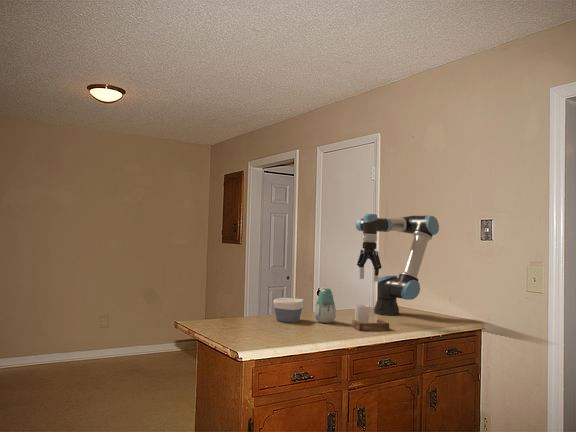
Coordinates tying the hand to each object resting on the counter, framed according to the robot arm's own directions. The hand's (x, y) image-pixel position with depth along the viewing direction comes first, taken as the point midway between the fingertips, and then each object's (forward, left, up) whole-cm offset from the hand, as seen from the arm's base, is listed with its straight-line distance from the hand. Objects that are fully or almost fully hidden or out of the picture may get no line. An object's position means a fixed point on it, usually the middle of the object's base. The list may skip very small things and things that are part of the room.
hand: (368, 280), depth 269 cm
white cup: (+7, -6, -23) cm, 25 cm away
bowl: (-7, -43, -23) cm, 50 cm away
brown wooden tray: (+18, -6, -23) cm, 30 cm away
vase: (-1, -24, -23) cm, 33 cm away
